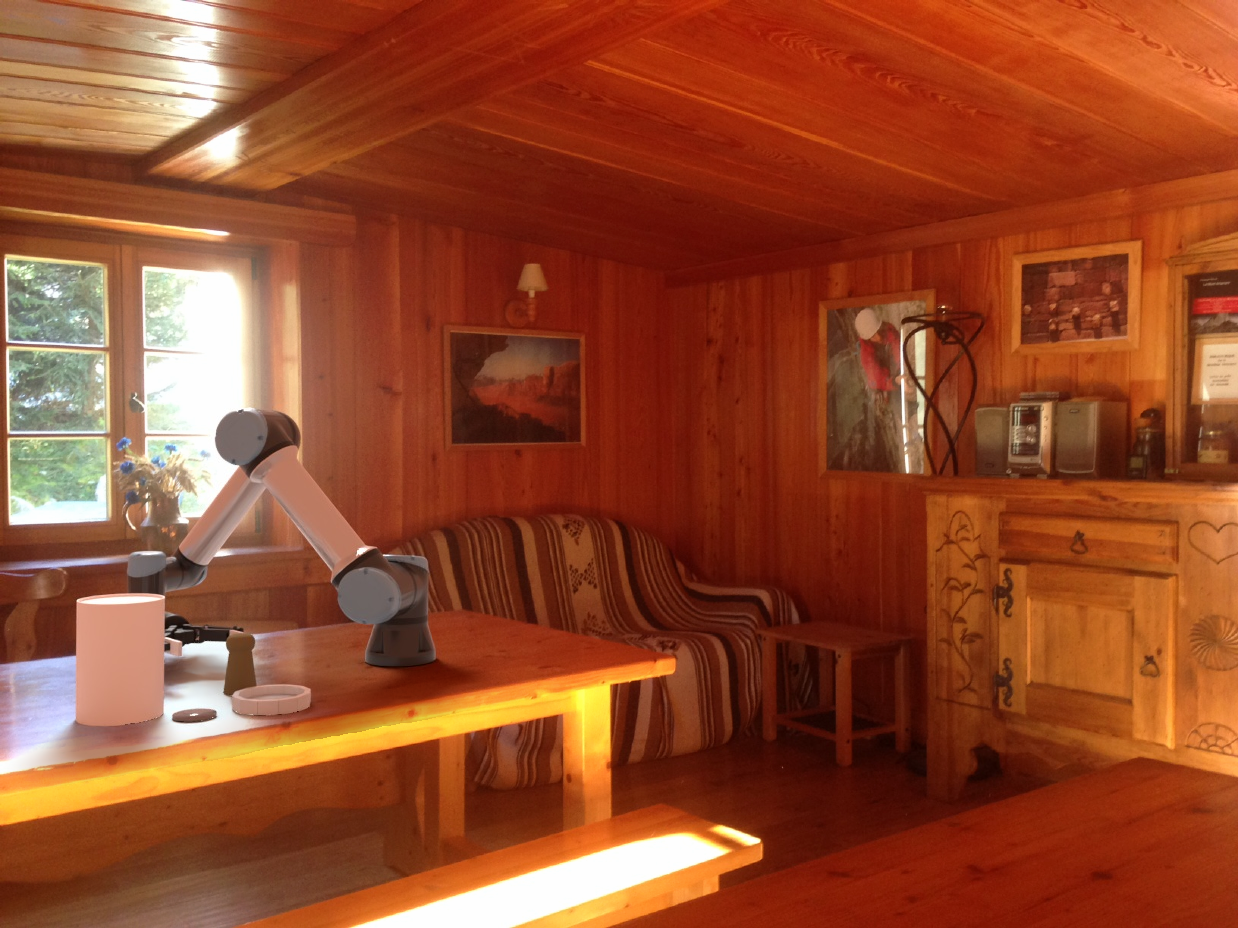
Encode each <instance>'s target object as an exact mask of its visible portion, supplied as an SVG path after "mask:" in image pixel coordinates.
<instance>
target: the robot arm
mask: <svg viewBox="0 0 1238 928" xmlns="http://www.w3.org/2000/svg"><path fill="white" fill-rule="evenodd" d="M301 439H302V436H301V430H300V428H299V426H298V424H297V422H296V421H295V420H294V419H293V418H292V417H290V416H289V415H288V414H286V413H284V412H282V411H278V410H268V409H258V408H253V407H244V408H236V409H234V410H231V411H230V412H228V413H226V414H225V415H223V416H222V419H220V421H219V423H218V424H217V427H216V430H215V436H214V444H215V448H216V451H217V453H218V455H219V456H220V457H221V458H222V459H223V460H224V461H226V462H227V463H228V464H231V465H233V466H237V468H236V470H235V471H234V473H232V475H231V477H230V478H228V481H227V482H226V483H225V484H224V486H223V487H222V488H221V490H220V491H219V493H218V494H217V495H216V497H214V499H213V500H212V502H210V504H209V505H208V507H207V508H206V510H204V512H203V513H202V515H201V517H199V519H198V520H197V521H196V523H195V524H194V525H193V527H192V528H191V530H190V531H189V532H188V534H187V535H186V536H185V537H184V539H183V540H182V542H181V543H180V544H179V546H178V547H177V548H176V549H175V551H174V552H173V554H172V555H170V557H169V556H168V557H167V555H166V553H165V552H163V551H158V550H147V551H146V550H143V551H133V552H131V553H130V554H129V556H128V560H127V569H126V594H157V595H162V596H165V597H166V593H168V592H172V591H179V590H184V589H191V588H193V587H195V586H198V585H200V584H201V583H202V582H204V580H205V579H206V578H207V576H208V575H207V574H208V569H209V567H208V565H209V563H210V562H211V561H212V560H213V558H214V557H215V556H216V555H217V553H218V552H219V550H221V548H222V547H223V546H224V544H225V543H226V541H227V540H228V539H229V537H230V536H231V535H232V533H234V531H235V530H236V528H238V526H239V525H240V523H241V522H242V520H244V518H245V516H247V514H249V512H250V510H251V509H252V507H253V506H254V505H255V503H256V502H257V501H258V499H260V497H261V495H262V494H263V493H264V492H265V490H268V492H269V493H270V495H271V496H272V497H273V498H274V500H275V501H276V502H277V504H278V505H279V506H280V507H281V508H282V510H283V511H284V512H285V515H287V516H288V518H289V519H290V520H291V521H292V522H293V525H295V527H296V528H297V529H298V530H299V532H301V534H302V535H303V537H304V538H305V539H306V540H307V542H308V543H309V544H310V545H311V547H312V548H313V549H314V550H315V552H316V553H317V554H318V556H319V557H320V558H321V559H322V560H323V562H324V563H325V564H326V566H327V567H328V569H330V571H331V578H330V583H331V584H332V586H333V587H334V588H335V590H336V591H337V601H338V605H339V608H340V609H341V611H342V612H343V614H344V615H345V616H346V617H347V618H348V619H350V620H351V621H353V622H355V623H358V624H361V625H373V627H372V630H371V632H370V633H371V634H370V636H369V639H368V642H367V645H366V648H365V652H364V655H365V656H364V662H366V663H367V664H368V665H373V666H382V667H410V666H411V667H412V666H413V667H414V666H420V665H425V664H429V663H432V662H434V661H436V655H437V653H436V652H437V651H436V650H437V649H436V646H435V642H434V640H433V637H432V633H431V631H430V627H429V619H428V618H429V575H430V571H429V561H428V559H427V558H426V557H424V556H420V555H419V556H418V555H399V554H383V553H382V552H381V550H380V549H379V548H378V547H377V546H371V545H366V544H365V542H364V541H363V540H362V539H361V538H360V536H359V535H358V534H357V533H356V531H355V530H354V529H353V528H352V526H351V525H350V523H348V521H347V520H346V519H345V517H344V516H343V515H342V514H341V512H340V511H339V509H338V508H336V506H335V505H334V504H333V502H332V501H331V500H330V499H329V497H328V496H327V495H326V494H325V492H324V491H323V490H322V488H321V487H320V486H319V484H318V483H317V482H316V481H315V480H314V479H313V477H312V476H311V475H310V473H309V472H308V471H307V470H306V468H305V467H304V466H303V464H301V462H300V460H298V453H299V449H300V447H301ZM236 633H245V628H244V627H238V626H237V625H233V626H220V625H219V626H218V625H211V624H203V625H193V624H190V622H189V621H188V619H187V618H185V617H184V616H182V615H180V614H176V613H172V612H169V611H166V610H165V625H164V654H165V653H166V654H169V655H172V656H175V657H182V656H183V647H184V646H186V645H189V644H203V643H204V642H218V643H219V642H220V643H226V640H227V638H228V637H229V636H230V635H232V634H236ZM197 638H198V639H197Z"/></svg>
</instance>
